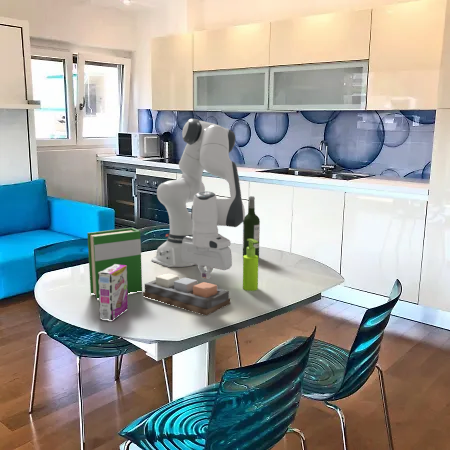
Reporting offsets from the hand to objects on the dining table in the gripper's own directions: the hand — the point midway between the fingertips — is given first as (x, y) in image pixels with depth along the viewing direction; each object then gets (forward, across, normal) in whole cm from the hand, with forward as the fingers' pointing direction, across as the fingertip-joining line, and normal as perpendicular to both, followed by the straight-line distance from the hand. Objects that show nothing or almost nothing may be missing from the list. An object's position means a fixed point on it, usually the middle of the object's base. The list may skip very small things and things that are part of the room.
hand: (205, 277), depth 171 cm
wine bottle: (+11, -22, +63) cm, 67 cm away
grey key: (+6, -9, 0) cm, 11 cm away
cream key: (+6, -18, 0) cm, 19 cm away
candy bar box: (+10, -19, -25) cm, 33 cm away
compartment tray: (+10, -9, 0) cm, 14 cm away
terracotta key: (+6, 0, 0) cm, 6 cm away
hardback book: (+10, -35, -10) cm, 38 cm away
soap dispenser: (+11, +3, +25) cm, 27 cm away
